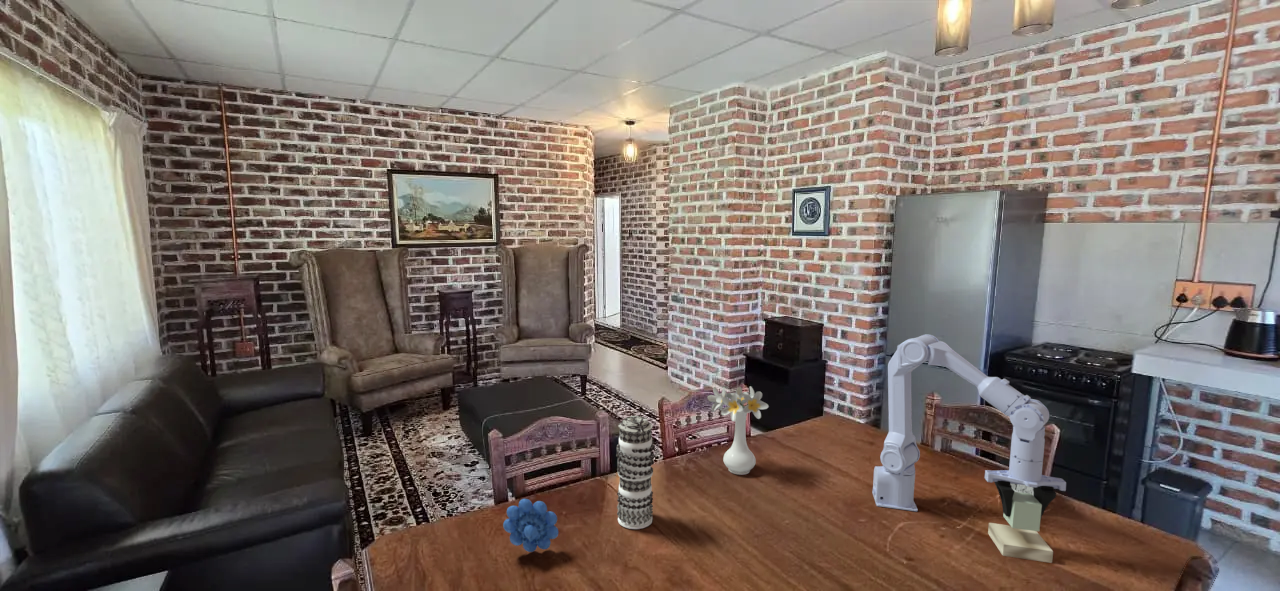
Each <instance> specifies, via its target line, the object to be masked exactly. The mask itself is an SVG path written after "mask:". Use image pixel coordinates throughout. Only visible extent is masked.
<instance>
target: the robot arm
mask: <svg viewBox="0 0 1280 591" xmlns="http://www.w3.org/2000/svg"><path fill="white" fill-rule="evenodd" d="M925 362H927V366H937V367H938V366H939V367H945V368H947V369H948V370H950V371H951V372H952V373H954V374H957V376H959V377H960V378H962V379H963V380H965V381H967V382H968V383H970V384H971V385H972V386H974V387H975V388H977V392H978V394H979V397H981V398H982V399H983V400H985V401H986V402H987V403H988V404H989V405H991V406H992V407H994V408H995V409H996V410H998V411H999V412H1001V413H1002V414H1003V415H1005V416H1006V417H1007V416H1008V417H1009V420H1010V423H1011V424H1012V433H1011V441H1010V442H1011V443H1010V455H1009V463H1008V464H1009V465H1008V466H1009V468H1008V469H1007V470H1006V469H1004V470H1003V469H1000V470H990V469H989V470H988V469H987V470H986V469H985V470H984V479H985V481H986V482H987V483H994V484H995V487H996V489H997V492H998V494H999V497H1000V502H1001V506H1002V514H1003V513H1004V514H1005V515H1006V516H1008V517H1010V515H1011V503H1012V498H1013V495H1014V492H1015V491H1014V490H1013V489H1012V486H1011V485H1010V483H1011V484H1020V485H1026V486H1028V487H1033V492H1034V497H1035V498H1036V499H1037V500H1038V501H1039V502H1040V503H1041V505H1042V509H1041V519H1042V517H1043V514H1044V512H1045V511H1046V509H1047V507H1048V506H1049V505H1050V504H1051V502H1052V501H1054V499H1055V498H1056V497H1057V492H1056V491H1055V490H1056V489H1057V490H1059V491H1062V492H1066V490H1067V482H1066V480H1064V479H1063V478H1060V477H1054V476H1050V475H1044V474H1043V464H1044V463H1043V462H1044V455H1045V454H1044V452H1045V442H1046V440H1045V435H1046V432H1045V430H1046V427H1045V425H1046V424H1047V423H1048V421H1049V419H1050V412H1049V409H1048V408H1047V406H1045V405H1044V403H1042V402H1041V401H1040V400H1038V399H1033V398H1031V397H1032V396H1029V395H1028V394H1026V395H1024V394H1023V393H1021V392H1020V391H1019V390H1017V388H1014V387H1013V386H1012V385H1010V380H1008V379H1006V378H1003V379H1001V377H998V376H987V374H985V373H984V372H983V371H982V370H980V369H979V368H977V367H976V366H975V365H973V364H972V363H971V362H969V361H968V360H967V359H966V358H964V357H963V356H962V355H960V354H959V353H958V352H956V351H955V350H954V349H953V348H951V347H950V346H949V345H948V343H946V342H945V341H942V340H940V339H939V338H937V336H935V335H933V334H928V333H927V334H922V335H920V336H917V337H913V338H908V339H906V340H904V341H903V342H901V343H900V344H897V346H896V351H895V352H894V354H893V355H892V357H891V358H890V359H889V361H888V363H887V388H888V390H887V392H888V393H887V394H888V395H887V396H888V398H887V399H888V406H887V407H888V433H887V435H886V437H885V439H884V442H883V448H882V451H881V452H880V456H879V457H880V463H881V464H882V465H880V466H879V465H875V466H874V469H873V482H872V484H873V485H872V491H871V492H872V496H873V499H874V502H875V506H876V507H880V508H881V507H883V508H889V509H895V510H896V509H897V510H903V511H910V512H918V507H917V504H916V503H915V501H914V494H915V480H916V468H915V463H917V462H918V461H919V459H920V457H921V451H920V449H919V447H918V445H917V440H916V439H917V437H916V436H915V434H914V433H913V426H912V424H913V419H912V417H913V413H912V412H913V410H912V407H913V406H912V402H913V400H912V397H913V396H912V372H913V371H914V370H916V369H917V368H918V367H919V366H921V365H922V364H923V363H925ZM1054 489H1055V490H1054ZM1041 519H1040V521H1041Z"/></svg>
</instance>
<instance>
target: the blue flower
mask: <svg viewBox="0 0 1280 591" xmlns="http://www.w3.org/2000/svg"><path fill="white" fill-rule="evenodd" d="M547 506H548V505H547V504H546V503H545V502H544V501H541V500H537V501H535V502H534V503H533V502H532V501H531V500H530V499H528V498H522V499H520V500H519V502H518V506H517V505H510V506H508V507H507V509H506V516H507V517H508V518H506V519H505V520H504V521H503V524H502V527H503V529H504V531H505V532H507V533H509V534H510V535H509V542H510V543H511V544H512V545H514V546H516V547H517V546H521V545H522V548H523V550H525V552H526V551H527V552H528V553H533V552H535V551H536V550H537V548H539V549H540V550H547V549H549V548H550V546H551V540H554V539H556V538H557V537H558V536H559V529H558V527H557V526H556V524H557V521H558V516H557V515H556V513H555V512H554V511H552V510H551V511H550V510H549V511H548V507H547Z"/></svg>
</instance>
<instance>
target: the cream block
mask: <svg viewBox="0 0 1280 591" xmlns="http://www.w3.org/2000/svg"><path fill="white" fill-rule="evenodd" d="M987 530H988V531H987V534H988V535H989V537H990V539H991V540H992V542H993V543H994V544H995V546H996V547H997V549H998V551H999V552H1000V554H1001V555H1002V556H1003V557H1009V558H1017V559H1021V560H1022V559H1024V560H1029V561H1035V562H1036V561H1038V562H1041V563H1043V562H1044V563H1051V564H1053V558H1054V557H1053V556H1054V551H1053V549H1052V548H1051V546H1049V545H1048V543H1047V542H1046V541H1045V539H1043V537H1042V536H1041V535H1040V533H1038V531H1032V530H1024V529H1017V528H1012V527H1011V526H1010V524H1001V523H995V522H988V529H987Z"/></svg>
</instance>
